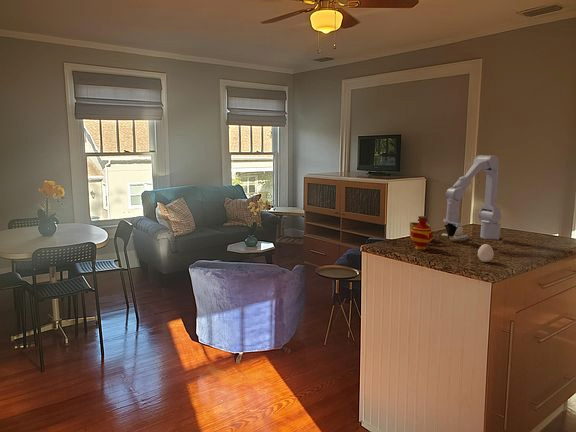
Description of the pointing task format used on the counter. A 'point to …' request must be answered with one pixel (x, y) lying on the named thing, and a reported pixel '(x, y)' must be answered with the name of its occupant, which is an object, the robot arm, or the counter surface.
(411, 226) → the flower pot
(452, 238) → the rod with orange cap
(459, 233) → the beige mushroom
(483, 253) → the egg
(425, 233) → the red and yellow vase
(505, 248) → the counter surface
